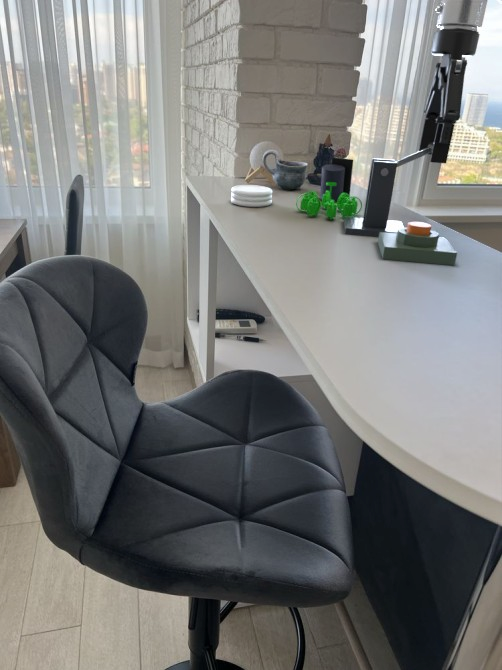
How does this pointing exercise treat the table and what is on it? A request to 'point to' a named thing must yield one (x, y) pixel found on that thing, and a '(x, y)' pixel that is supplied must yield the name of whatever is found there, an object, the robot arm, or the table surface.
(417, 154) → the switch lever
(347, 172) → the speaker
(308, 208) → the chandelier
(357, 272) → the table surface
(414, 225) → the stop button
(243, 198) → the white stacked round discs
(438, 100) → the robot arm
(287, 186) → the mug
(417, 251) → the stop box
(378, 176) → the switch bracket
